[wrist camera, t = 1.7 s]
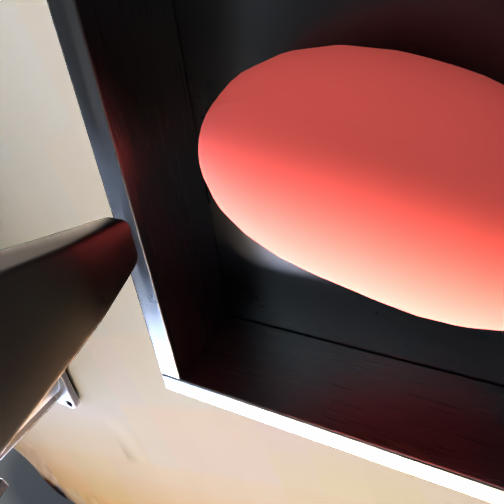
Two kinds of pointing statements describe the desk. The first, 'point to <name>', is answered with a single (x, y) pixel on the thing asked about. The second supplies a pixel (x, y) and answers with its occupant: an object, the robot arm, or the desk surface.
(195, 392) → the dark grey square tray
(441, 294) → the stress ball
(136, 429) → the desk surface
